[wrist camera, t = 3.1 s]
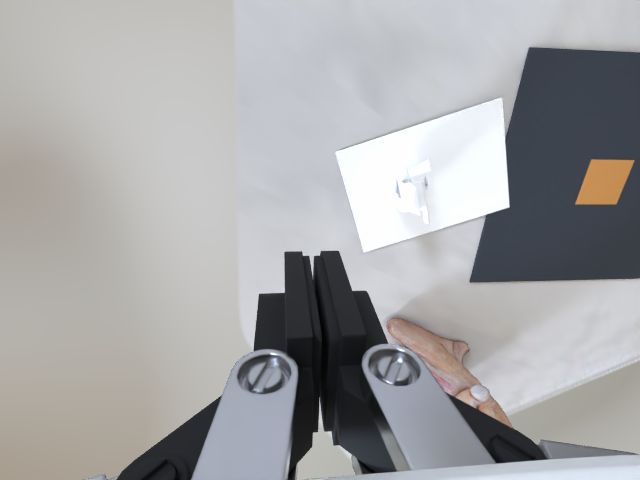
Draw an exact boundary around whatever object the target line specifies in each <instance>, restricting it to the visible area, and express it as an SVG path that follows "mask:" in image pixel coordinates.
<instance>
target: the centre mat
mask: <svg viewBox="0 0 640 480" xmlns="http://www.w3.org/2000/svg"><path fill="white" fill-rule="evenodd" d="M505 146H506V161H507V176H508V191H509V206H510V207H509V208H506V209H502V210H499V211H496V212H493V213H490V214H487V216H486V220H485V224H484V228H483V232H482V236H481V239H480V243H479V247H478V251H477V255H476V259H475V263H474V267H473V271H472V275H471V279H470V282H509V281H551V280H593V279H635V278H640V53H635V52H614V51H593V50H572V49H551V48H529V51H528V55H527V59H526V62H525V66H524V70H523V74H522V78H521V82H520V86H519V90H518V94H517V98H516V102H515V106H514V110H513V114H512V118H511V121H510V125H509V129H508V133H507V137H506V141H505Z"/></svg>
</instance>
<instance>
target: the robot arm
mask: <svg viewBox="0 0 640 480" xmlns="http://www.w3.org/2000/svg"><path fill="white" fill-rule="evenodd" d="M319 397H320V404H321V412H322V420H323V428H324V431H325V432H326V431H332V438H333V445H340V446H342V447H343V448H344V449H345V450H347V451H348V452H349V453H351V454H352V458H351V459H352V465H353V469H354V472H355V475H351V476H341V477H328V478H316V479H304V480H640V455H639V454H635V453H630V452H624V451H617V450H609V449H603V448H596V447H589V446H582V445H575V444H568V443H561V442H554V441H546V440H541V441H540V443H539V445H536V444H535V443H534V442H533V441H532V440H531V439H529V438H528V437H526V436H525V435H523V434H522V433H520V432H518V431H517V430H515V429H513V428H511V427H509V426H507V425H506V424H504V423H502V422H500V421H498V420H496V419H494V418H493V417H491V416H489V415H487V414H485V413H483V412H482V411H480V410H478V409H476V408H474V407H472V406H471V405H469V404H467V403H465V402H463V401H461V400H459V399H458V398H456V397H454V396H452V395H450V394H448V393H447V392H445V391H444V389H443V388H442V386H441V385H440V384H439V382H438V381H437V379H436V378H435V377H434V375H433V374H432V372H431V371H430V370H429V368H428V367H427V365H426V364H425V363H424V361H423V360H422V359H421V358H420V357H419V356H418V355H417V354H416V353H414V352H413V351H411V350H410V349H408V348H405V347H403V346H400V345H394V344H388V342H387V339H386V337H385V334H384V332H383V329H382V327H381V324H380V322H379V319H378V317H377V314H376V312H375V309H374V307H373V305H372V302H371V300H370V297H369V295H368V293H367V291H352V289H351V286H350V283H349V280H348V277H347V274H346V271H345V268H344V265H343V262H342V259H341V256H340V253H339V251H321V253H320V256H314V272H313V277H312V271H311V265H310V258H309V256H303V255H302V251H301V252H285V293H270V294H259V300H258V311H257V321H256V331H255V341H254V351H253V352H251V353H249V354H247V355H245V356H243V357H242V358H241V359H240V360H239V361H237V362H236V363H235V365H234V367H233V368H232V370H231V373H230V375H229V378H228V381H227V383H226V386H225V389H224V392H223V394H222V396H220V397H219V398H218V399H216V400H215V401H214V402H212V403H211V404H210V405H209V406H207V407H206V408H204V409H203V410H202V411H200V412H199V413H197V414H196V415H195V416H193V417H192V418H191V419H190V420H188V421H187V422H185V423H184V424H183V425H181V426H180V427H179V428H177V429H176V430H175V431H173V432H172V433H171V434H169V435H168V436H167V437H165V438H164V439H163V440H161V441H160V442H158V443H157V444H156V445H154V446H153V447H152V448H151V449H149V450H148V451H146V452H145V453H144V454H142V455H141V456H140V457H138V458H137V459H136V460H134V461H133V462H132V463H131V464H130V465H129V466H128V467H127V468H126V469H124V470H123V471H122V472H121V474H120V475H119V476H117V477H113V478H110V479H107V478H106V475H105V474H102V475H98V476H95V477H91V478H88V479H84V480H297V463H298V462H299V461H300V460H301V458H302V457H303V456H304V455H305V454H306V453H307V452H308V451H309V450H310V448H311V447H312V435H313V432H318V419H319Z"/></svg>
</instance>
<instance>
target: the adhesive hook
mask: <svg viewBox="0 0 640 480" xmlns="http://www.w3.org/2000/svg"><path fill="white" fill-rule="evenodd" d="M434 189H435V183H434V179H433V174H432V169H431V164H430V159H429V158H428V159H426V160H424V161H422V162H421V163H419V164H417V165H416V166H414V167H412V168H410V169H408V165H407V164H406V163H403V164H398V165H396V166H395V177H394V185H393V192H392V198H393V204H394V205H395V206H396V208H397V209H398V210H399V211H400V212H402V213H413V214H415V215H418V216H421V215H422V214H423V223H424V224H430V223H431V220H430V210H429V205H430V204H429V199H428V194H429V193H430V192H431V191H433V190H434Z"/></svg>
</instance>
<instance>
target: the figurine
mask: <svg viewBox="0 0 640 480" xmlns="http://www.w3.org/2000/svg"><path fill="white" fill-rule="evenodd" d="M387 329H388V331H389V333H390V334H391V335H392V336H393V337H394V338H396V339H397V340H399V341H400V342H401V343H403V344H404V345H405V346H407V347H408V348H410V349H411V350H412V351H413V352H414V353H416V354H417V355H418V356H419V357H420V358H421V359H422V360H423V361H424V363H425V364H426V365H427V367H428V368H429V370H430V371H431V372H432V374H433V375H434V377H435V378H436V379H437V381H438V382H439V384H440V385H441V386H442V388H443V389H444V391H445V392H447V393H448V394H450V395H452V396H454V397H456V398H458V399H459V400H461V401H463V402H465V403H467V404H469V405H471V406H472V407H474V408H476V409H478V410H480V411H482V412H483V413H485V414H487V415H489V416H491V417H493V418H494V419H496V420H498V421H500V422H502V423H504V424H506V425H507V426H509V427H511V428H513V427H512V425H511V423H510V421H509V420H508V418H507V416H506V414H505V413H504V411H503V410H502V408H501V407H500V405H499V404H498V403H497V402H496V401H495V400H494V399H493V397H492V396H491V395H490V392H489V390H488V389H487V388H486V387H485V386H482V384H481V383H480V382H479V381H478V379H477V378H475V377H474V376H473V375H472V374H470V372H469V371H468V370H467V369H466V368H465V367H464V366H463V365H462V358H463V356H464V355H465V354H466V353H467V352H468V351H469V346H468V344H467V343H465V342H457V341H451V340H447V339H444V338H441V337H437V336H436V335H434V334H433V333H431V332H430V331H428V330H426V329H424V328H422V327H419V326H417V325H414V324H412V323H410V322H407V321H405V320H403V319H400V318H392V319H390V320H389V321H388V322H387Z"/></svg>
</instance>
